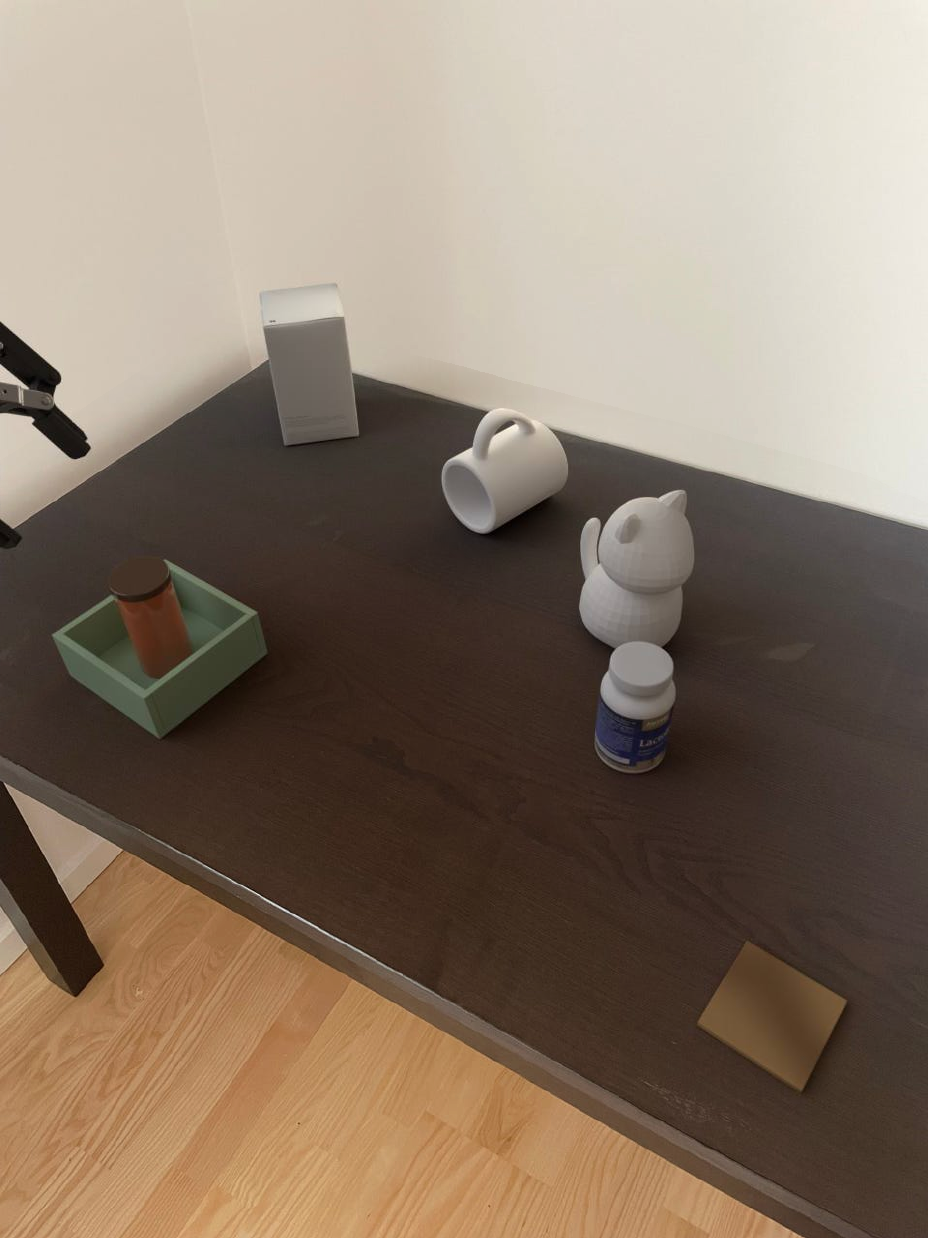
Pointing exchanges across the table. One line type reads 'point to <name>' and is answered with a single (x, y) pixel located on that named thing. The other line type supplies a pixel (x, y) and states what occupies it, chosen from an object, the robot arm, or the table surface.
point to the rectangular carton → (310, 363)
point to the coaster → (773, 1015)
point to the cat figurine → (637, 571)
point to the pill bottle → (635, 708)
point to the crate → (159, 705)
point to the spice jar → (151, 614)
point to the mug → (504, 471)
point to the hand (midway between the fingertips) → (49, 497)
